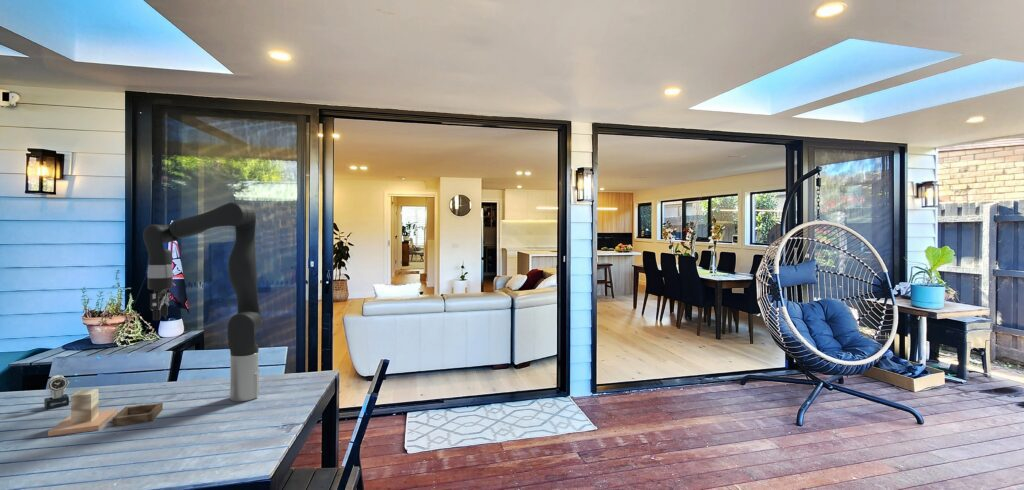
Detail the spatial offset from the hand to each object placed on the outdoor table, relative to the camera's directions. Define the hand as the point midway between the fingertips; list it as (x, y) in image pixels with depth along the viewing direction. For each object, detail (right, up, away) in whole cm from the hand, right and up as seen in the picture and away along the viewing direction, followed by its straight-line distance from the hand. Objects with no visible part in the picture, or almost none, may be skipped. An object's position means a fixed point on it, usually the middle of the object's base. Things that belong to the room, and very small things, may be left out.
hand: (160, 318), depth 167 cm
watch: (-28, -30, -11) cm, 43 cm away
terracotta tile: (-4, -31, -25) cm, 40 cm away
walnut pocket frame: (+8, -31, -19) cm, 37 cm away
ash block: (-4, -29, -25) cm, 39 cm away
